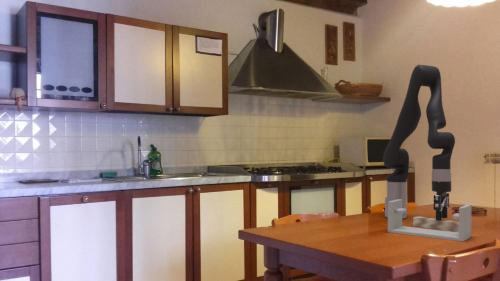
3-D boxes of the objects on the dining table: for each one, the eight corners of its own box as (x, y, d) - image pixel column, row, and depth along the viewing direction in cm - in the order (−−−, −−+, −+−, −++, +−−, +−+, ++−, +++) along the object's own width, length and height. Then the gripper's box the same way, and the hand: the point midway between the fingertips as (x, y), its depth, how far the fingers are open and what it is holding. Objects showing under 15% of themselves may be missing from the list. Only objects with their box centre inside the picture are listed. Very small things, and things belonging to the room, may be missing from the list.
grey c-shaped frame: (387, 232, 186) (387, 201, 186) (398, 228, 195) (398, 199, 196) (463, 241, 169) (463, 208, 169) (471, 236, 178) (471, 204, 179)
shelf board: (413, 226, 202) (413, 217, 202) (419, 225, 205) (419, 216, 205) (464, 234, 185) (464, 224, 185) (469, 233, 188) (470, 223, 188)
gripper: (437, 179, 203) (437, 216, 202) (426, 180, 192) (427, 220, 191) (455, 179, 198) (455, 218, 198) (446, 181, 187) (446, 222, 187)
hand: (441, 219), depth 195 cm, fingers open, 8 cm apart
